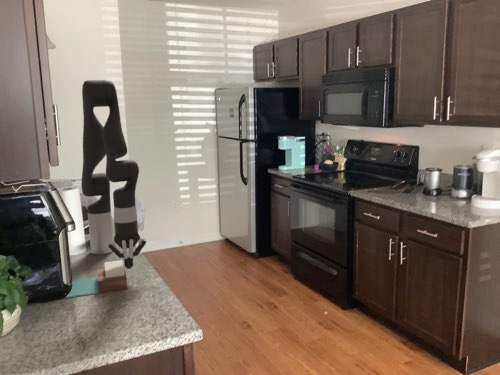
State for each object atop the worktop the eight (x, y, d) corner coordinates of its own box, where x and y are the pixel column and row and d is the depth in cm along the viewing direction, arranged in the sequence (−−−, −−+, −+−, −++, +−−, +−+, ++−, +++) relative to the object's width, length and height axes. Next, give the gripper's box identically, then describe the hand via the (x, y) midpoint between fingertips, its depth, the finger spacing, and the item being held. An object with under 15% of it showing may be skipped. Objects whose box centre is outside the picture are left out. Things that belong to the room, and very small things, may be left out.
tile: (105, 268, 151) (104, 262, 151) (122, 266, 153) (122, 260, 153) (105, 277, 143) (105, 271, 143) (124, 275, 145) (124, 268, 144)
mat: (67, 282, 150) (67, 281, 150) (98, 278, 153) (98, 277, 153) (65, 298, 137) (65, 297, 137) (98, 293, 140) (98, 292, 140)
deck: (98, 278, 153) (97, 268, 152) (124, 275, 156) (123, 264, 155) (98, 292, 141) (97, 281, 140) (127, 288, 144) (126, 277, 143)
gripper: (144, 215, 152) (147, 262, 155) (104, 218, 148) (108, 267, 151) (147, 219, 145) (149, 269, 148) (105, 223, 141) (109, 274, 144)
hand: (128, 268), depth 150 cm, fingers closed
